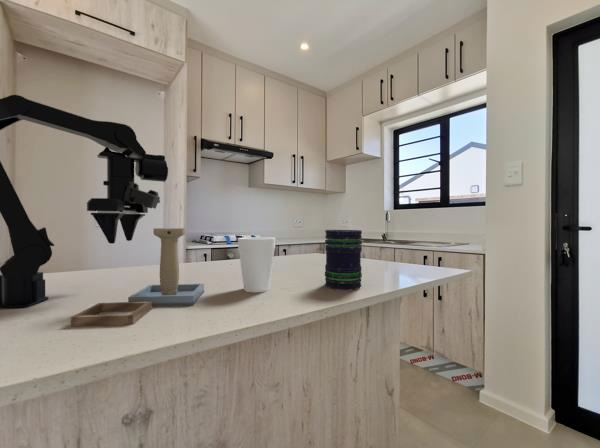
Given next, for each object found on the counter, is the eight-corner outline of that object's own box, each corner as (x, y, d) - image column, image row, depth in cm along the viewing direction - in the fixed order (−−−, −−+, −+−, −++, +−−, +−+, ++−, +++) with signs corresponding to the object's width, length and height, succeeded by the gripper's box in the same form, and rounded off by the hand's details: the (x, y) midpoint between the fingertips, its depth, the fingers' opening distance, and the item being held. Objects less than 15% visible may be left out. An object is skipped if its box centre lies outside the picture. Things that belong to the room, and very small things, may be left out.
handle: (154, 294, 68) (154, 228, 68) (184, 292, 70) (184, 228, 70) (152, 300, 63) (152, 228, 63) (185, 297, 66) (185, 228, 66)
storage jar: (367, 289, 77) (368, 231, 77) (331, 290, 75) (331, 231, 75) (353, 281, 87) (353, 229, 87) (320, 282, 85) (320, 229, 85)
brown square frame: (71, 326, 49) (71, 317, 49) (99, 310, 58) (99, 302, 58) (133, 324, 51) (133, 315, 51) (151, 309, 59) (151, 301, 59)
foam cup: (278, 286, 80) (278, 237, 80) (271, 294, 71) (271, 239, 71) (243, 285, 81) (243, 237, 81) (232, 293, 72) (232, 239, 72)
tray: (128, 307, 60) (128, 297, 60) (149, 293, 72) (149, 284, 72) (193, 305, 62) (193, 295, 62) (204, 291, 73) (204, 283, 73)
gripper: (140, 173, 65) (140, 245, 66) (167, 183, 84) (167, 239, 84) (85, 171, 64) (85, 245, 64) (124, 182, 82) (124, 239, 83)
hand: (121, 241), depth 74 cm, fingers open, 9 cm apart
